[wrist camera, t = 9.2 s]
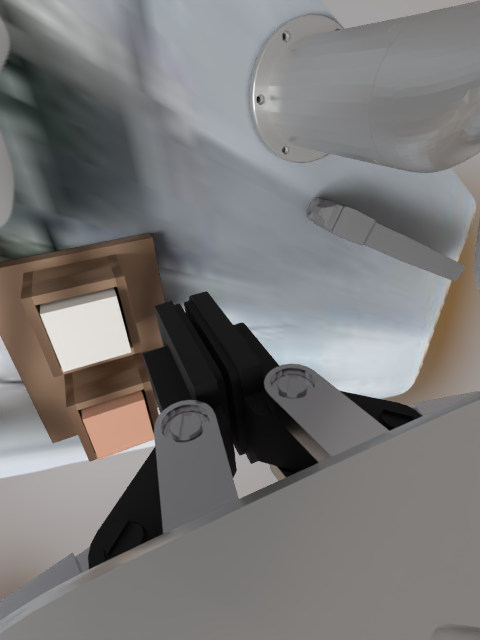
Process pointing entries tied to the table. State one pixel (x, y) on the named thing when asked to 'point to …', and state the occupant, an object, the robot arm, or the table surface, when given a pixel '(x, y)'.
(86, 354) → the white square block
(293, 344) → the table surface
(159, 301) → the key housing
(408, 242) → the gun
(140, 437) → the terracotta key
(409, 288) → the table surface
